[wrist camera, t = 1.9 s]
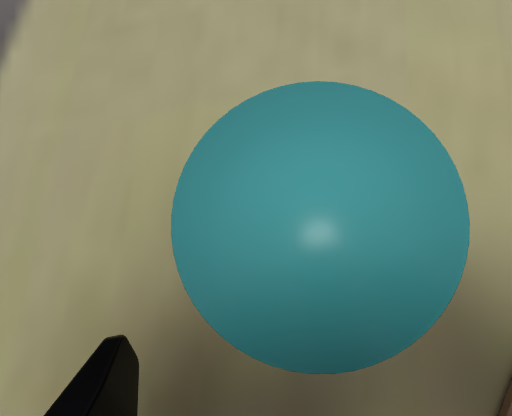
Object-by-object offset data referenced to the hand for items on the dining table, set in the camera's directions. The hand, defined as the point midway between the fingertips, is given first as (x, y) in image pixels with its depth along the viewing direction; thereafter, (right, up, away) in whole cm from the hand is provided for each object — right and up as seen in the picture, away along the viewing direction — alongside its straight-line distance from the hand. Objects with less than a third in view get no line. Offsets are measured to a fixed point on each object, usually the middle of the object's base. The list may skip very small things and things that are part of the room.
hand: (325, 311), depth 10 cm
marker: (+1, 0, +10) cm, 10 cm away
